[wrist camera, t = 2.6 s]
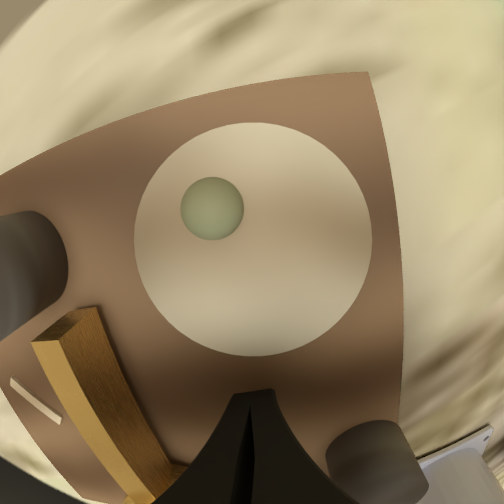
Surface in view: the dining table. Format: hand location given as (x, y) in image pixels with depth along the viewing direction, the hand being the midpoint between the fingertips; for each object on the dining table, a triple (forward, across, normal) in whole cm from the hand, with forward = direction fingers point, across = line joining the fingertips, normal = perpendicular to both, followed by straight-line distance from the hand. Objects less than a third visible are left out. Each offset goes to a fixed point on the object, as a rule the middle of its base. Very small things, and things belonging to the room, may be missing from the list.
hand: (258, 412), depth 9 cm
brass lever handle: (+1, +5, +2) cm, 5 cm away
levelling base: (+2, +4, 0) cm, 5 cm away
